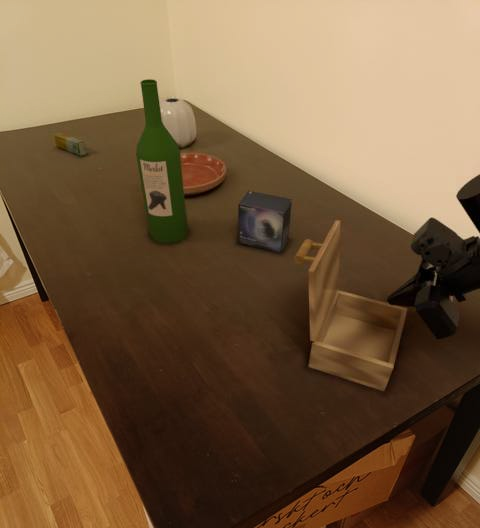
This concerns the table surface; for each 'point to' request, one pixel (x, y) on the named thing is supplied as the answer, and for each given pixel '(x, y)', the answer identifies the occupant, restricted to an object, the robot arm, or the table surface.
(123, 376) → the table surface
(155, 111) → the wine bottle
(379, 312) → the chest
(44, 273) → the table surface
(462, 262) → the robot arm
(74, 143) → the medication box
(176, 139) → the vase
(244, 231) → the small box
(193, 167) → the saucer
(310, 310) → the chest lid
